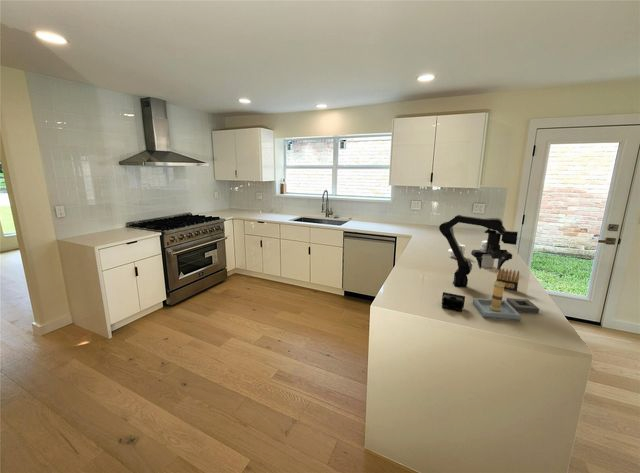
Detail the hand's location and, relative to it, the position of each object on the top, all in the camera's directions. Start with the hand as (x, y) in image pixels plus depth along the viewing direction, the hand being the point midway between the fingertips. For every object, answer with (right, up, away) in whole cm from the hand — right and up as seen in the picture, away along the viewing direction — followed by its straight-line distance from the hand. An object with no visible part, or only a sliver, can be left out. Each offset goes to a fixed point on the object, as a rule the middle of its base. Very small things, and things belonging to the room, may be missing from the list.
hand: (489, 269), depth 157 cm
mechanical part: (+12, +2, +64) cm, 65 cm away
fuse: (-9, -17, -20) cm, 28 cm away
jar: (+23, -3, +44) cm, 50 cm away
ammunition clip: (+14, -12, +7) cm, 20 cm away
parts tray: (-9, -18, -20) cm, 29 cm away
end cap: (-28, -17, -16) cm, 37 cm away
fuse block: (+7, -17, -16) cm, 24 cm away
